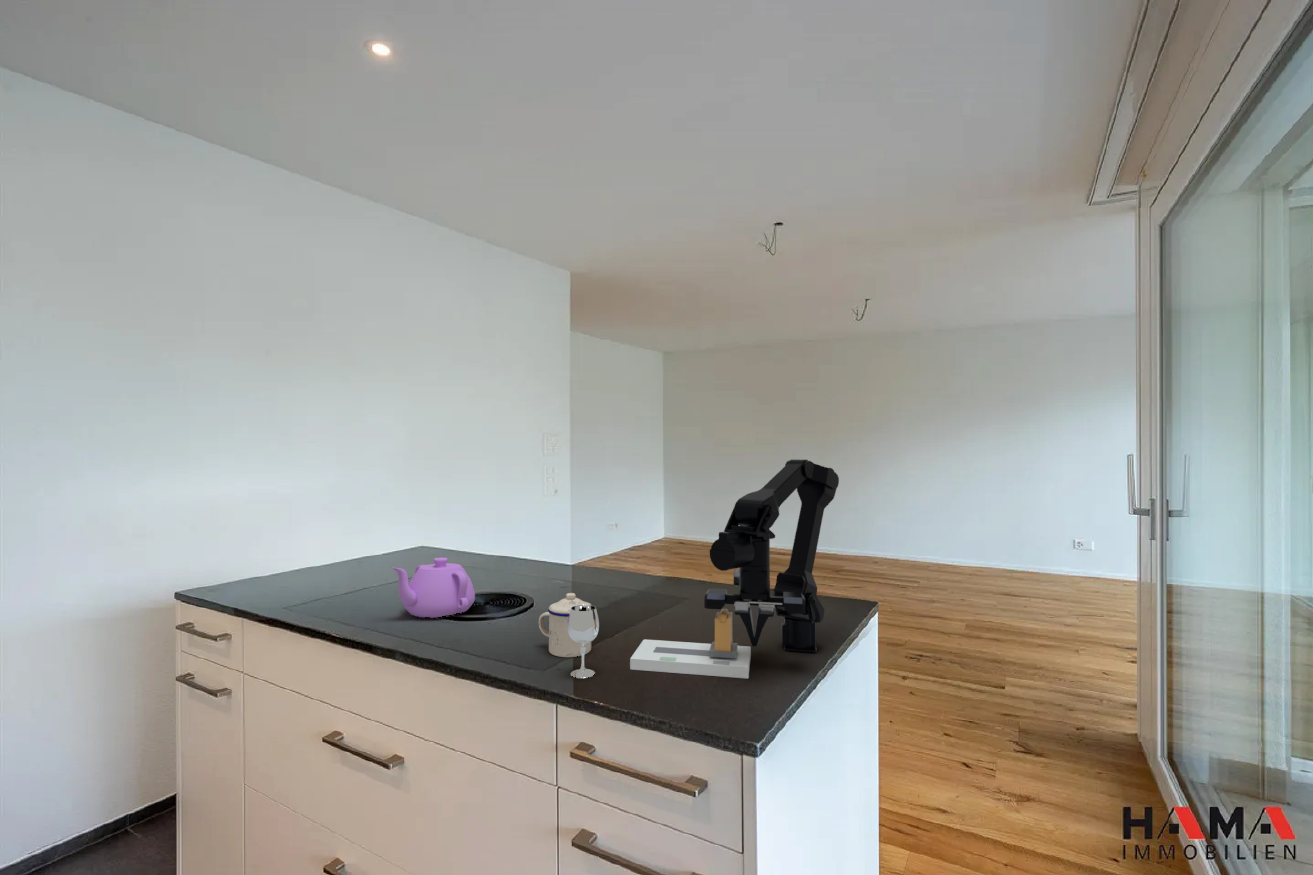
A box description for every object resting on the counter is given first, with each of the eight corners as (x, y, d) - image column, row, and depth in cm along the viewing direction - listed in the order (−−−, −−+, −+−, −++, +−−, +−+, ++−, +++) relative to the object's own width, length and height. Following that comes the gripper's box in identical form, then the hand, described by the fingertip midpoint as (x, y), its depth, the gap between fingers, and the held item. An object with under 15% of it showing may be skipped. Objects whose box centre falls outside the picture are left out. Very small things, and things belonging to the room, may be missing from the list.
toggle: (737, 648, 115) (737, 608, 116) (735, 658, 109) (735, 616, 110) (712, 646, 116) (712, 606, 116) (709, 656, 110) (709, 614, 111)
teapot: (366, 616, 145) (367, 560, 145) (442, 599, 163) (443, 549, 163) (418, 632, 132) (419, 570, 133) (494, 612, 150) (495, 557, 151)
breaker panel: (750, 656, 118) (750, 645, 118) (748, 678, 106) (748, 666, 106) (643, 648, 122) (643, 638, 122) (630, 669, 110) (630, 658, 110)
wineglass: (568, 668, 110) (568, 604, 111) (598, 667, 111) (599, 603, 111) (565, 680, 105) (566, 612, 105) (598, 679, 105) (598, 611, 105)
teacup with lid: (599, 647, 123) (600, 591, 123) (578, 660, 115) (579, 600, 115) (550, 640, 127) (551, 586, 128) (526, 653, 119) (527, 595, 119)
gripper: (802, 558, 118) (802, 636, 118) (710, 555, 122) (709, 630, 121) (805, 568, 107) (805, 654, 107) (704, 564, 111) (703, 647, 110)
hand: (754, 645), depth 112 cm, fingers closed
